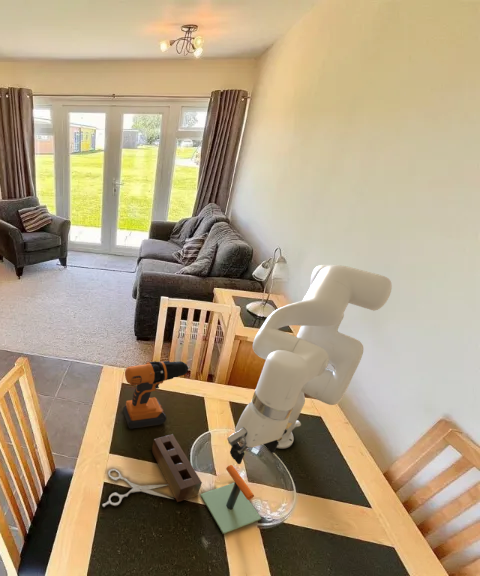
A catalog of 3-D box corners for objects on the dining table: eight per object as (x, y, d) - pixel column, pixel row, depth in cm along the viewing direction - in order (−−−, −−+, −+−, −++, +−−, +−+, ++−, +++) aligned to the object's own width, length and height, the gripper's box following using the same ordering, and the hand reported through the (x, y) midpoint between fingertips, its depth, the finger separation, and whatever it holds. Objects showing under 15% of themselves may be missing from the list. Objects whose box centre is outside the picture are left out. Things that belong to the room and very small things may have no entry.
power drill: (173, 405, 117) (185, 352, 105) (182, 422, 110) (195, 367, 99) (117, 413, 113) (123, 358, 101) (123, 430, 106) (129, 374, 95)
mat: (235, 483, 92) (236, 481, 92) (260, 519, 83) (261, 518, 83) (200, 495, 88) (200, 493, 88) (223, 534, 80) (223, 533, 80)
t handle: (223, 490, 89) (233, 463, 84) (242, 520, 82) (255, 493, 77) (217, 492, 89) (227, 465, 83) (236, 523, 82) (248, 496, 76)
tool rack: (170, 446, 102) (172, 433, 99) (197, 495, 88) (202, 482, 86) (151, 451, 100) (153, 439, 97) (177, 502, 87) (180, 489, 84)
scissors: (103, 468, 94) (170, 472, 93) (103, 469, 94) (170, 474, 94) (102, 506, 85) (177, 511, 84) (102, 507, 85) (176, 512, 84)
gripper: (289, 382, 74) (268, 431, 82) (227, 398, 69) (211, 448, 77) (317, 407, 67) (292, 457, 75) (251, 427, 63) (232, 478, 71)
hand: (251, 453), depth 76 cm, fingers open, 9 cm apart
